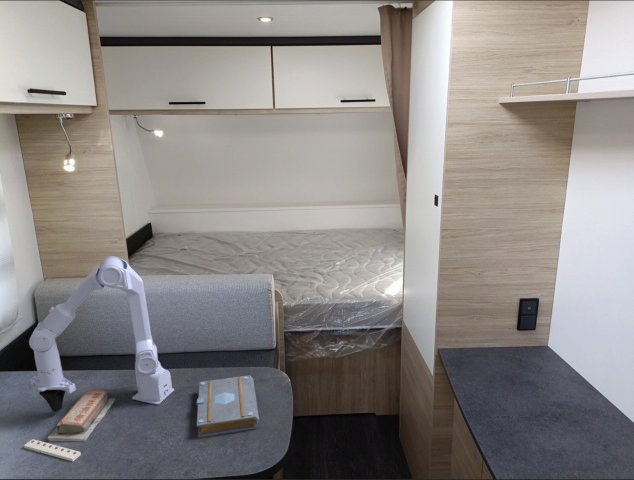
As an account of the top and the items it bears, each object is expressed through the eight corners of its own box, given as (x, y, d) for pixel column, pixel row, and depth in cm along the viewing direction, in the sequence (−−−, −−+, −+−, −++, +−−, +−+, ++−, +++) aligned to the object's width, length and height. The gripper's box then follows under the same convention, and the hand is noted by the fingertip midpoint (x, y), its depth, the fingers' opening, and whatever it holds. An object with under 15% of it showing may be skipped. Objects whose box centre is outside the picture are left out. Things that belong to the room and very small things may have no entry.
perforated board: (81, 454, 115) (80, 451, 114) (72, 461, 112) (72, 458, 112) (33, 441, 120) (32, 438, 119) (24, 448, 117) (23, 445, 117)
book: (259, 429, 123) (258, 413, 122) (196, 439, 120) (194, 422, 119) (253, 386, 143) (252, 372, 142) (199, 394, 140) (198, 379, 139)
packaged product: (80, 387, 136) (113, 387, 136) (82, 402, 137) (115, 401, 137) (44, 427, 118) (82, 427, 118) (47, 443, 120) (85, 443, 119)
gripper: (16, 370, 126) (25, 413, 129) (57, 378, 121) (65, 423, 125) (39, 358, 132) (47, 399, 136) (78, 365, 127) (85, 408, 131)
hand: (57, 410), depth 130 cm, fingers closed
